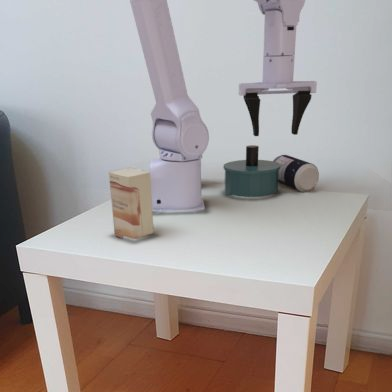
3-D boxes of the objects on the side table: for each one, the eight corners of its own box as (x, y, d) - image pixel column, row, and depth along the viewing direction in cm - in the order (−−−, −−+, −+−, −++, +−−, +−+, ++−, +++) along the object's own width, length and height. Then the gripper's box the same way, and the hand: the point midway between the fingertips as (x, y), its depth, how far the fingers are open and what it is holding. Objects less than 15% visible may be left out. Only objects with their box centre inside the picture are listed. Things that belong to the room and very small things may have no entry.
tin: (227, 200, 102) (227, 174, 99) (223, 187, 111) (223, 163, 108) (281, 198, 102) (282, 172, 100) (272, 186, 111) (273, 161, 109)
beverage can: (318, 158, 102) (288, 149, 112) (292, 171, 101) (265, 160, 111) (323, 186, 105) (294, 174, 115) (299, 198, 105) (271, 185, 115)
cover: (227, 178, 99) (227, 152, 97) (220, 166, 109) (220, 142, 106) (286, 175, 100) (287, 150, 97) (273, 164, 109) (274, 140, 107)
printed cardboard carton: (113, 236, 85) (106, 171, 79) (134, 229, 87) (129, 166, 82) (134, 243, 81) (128, 176, 76) (155, 236, 84) (151, 170, 79)
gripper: (243, 57, 93) (241, 139, 100) (323, 55, 94) (317, 136, 101) (237, 56, 99) (236, 133, 106) (313, 54, 100) (307, 130, 107)
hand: (275, 134), depth 104 cm, fingers open, 7 cm apart
